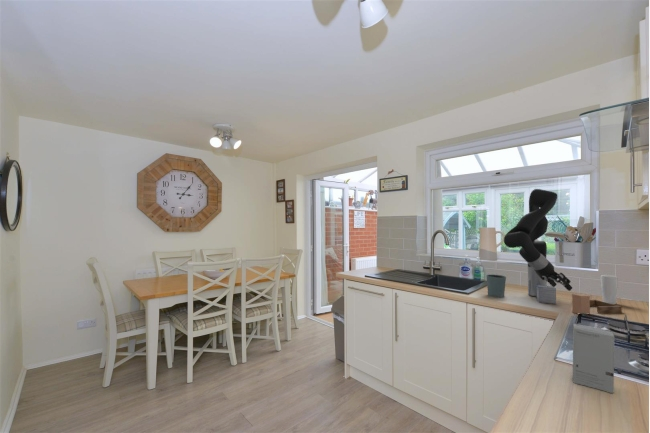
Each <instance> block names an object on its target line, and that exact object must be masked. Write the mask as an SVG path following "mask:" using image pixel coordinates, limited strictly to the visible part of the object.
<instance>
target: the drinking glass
mask: <svg viewBox="0 0 650 433" xmlns="http://www.w3.org/2000/svg"><path fill="white" fill-rule="evenodd" d="M618 279H619V278H618V276H617V275H612V274H601V275H600V286H601V288H600V289H601V294H602V296H601V297H602V302H606V303H610V304H614V305H617V298H618V296H617V295H618V288H619V287H618V286H619V280H618Z"/></svg>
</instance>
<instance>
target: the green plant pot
mask: <svg viewBox="0 0 650 433" xmlns="http://www.w3.org/2000/svg"><path fill="white" fill-rule="evenodd" d="M506 280H507V276H504V275H501V274H486V284H487V286H486V288H487V295H488V296H489V297H492V298H504V297H505V291H506Z"/></svg>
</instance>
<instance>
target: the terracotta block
mask: <svg viewBox="0 0 650 433" xmlns="http://www.w3.org/2000/svg"><path fill="white" fill-rule="evenodd" d="M571 299H572V301H571V302H572V303H571V304H572V311H571V312H572V314H576V313H589V314H590V315H591V306H590V300H591V298H590V295H587V294H582V293H572V294H571Z"/></svg>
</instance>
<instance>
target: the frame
mask: <svg viewBox="0 0 650 433" xmlns="http://www.w3.org/2000/svg"><path fill="white" fill-rule="evenodd" d="M590 307H596V313H597V312H598V313H597V314H619V313H620V314H622V312H623V309H622V308H623V307H622V306H621V305H617V304H610V303H606V302H603V300H602V301H601V300H597V299H590Z"/></svg>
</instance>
